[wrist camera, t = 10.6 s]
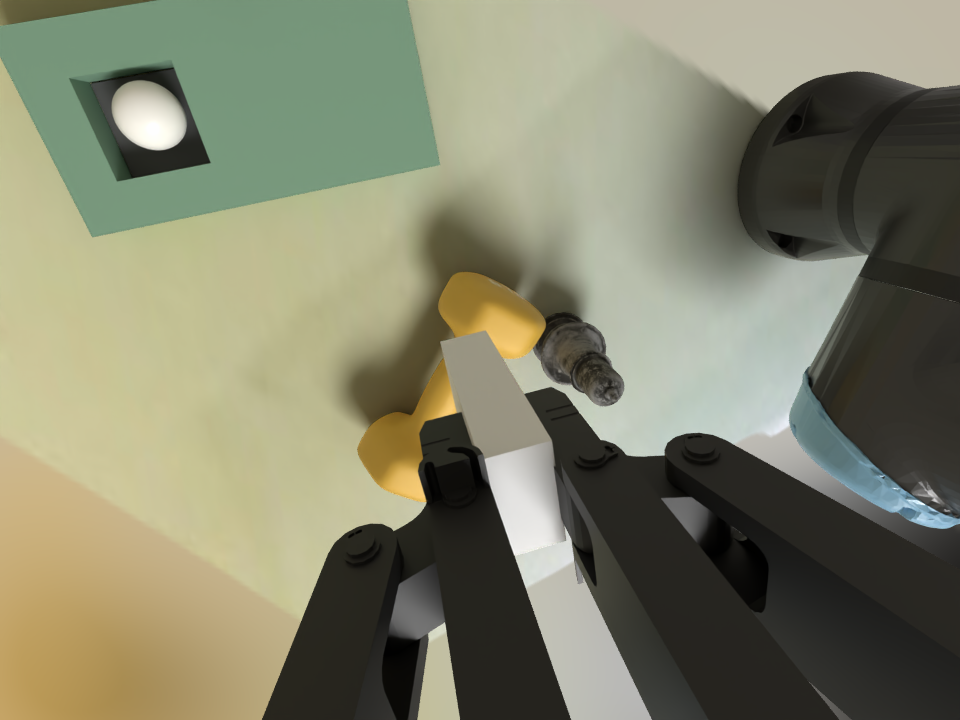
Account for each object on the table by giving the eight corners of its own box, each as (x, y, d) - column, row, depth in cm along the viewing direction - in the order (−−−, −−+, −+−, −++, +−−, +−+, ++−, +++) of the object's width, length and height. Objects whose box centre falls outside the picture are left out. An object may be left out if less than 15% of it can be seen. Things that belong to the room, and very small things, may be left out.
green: (397, -28, 33) (398, -40, 31) (436, 163, 38) (440, 164, 36) (14, 36, 31) (-15, 28, 28) (110, 231, 36) (92, 237, 34)
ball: (174, 78, 33) (162, 70, 30) (201, 143, 35) (192, 142, 31) (109, 90, 32) (88, 83, 29) (139, 156, 34) (124, 156, 30)
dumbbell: (451, 251, 41) (468, 275, 34) (539, 300, 44) (572, 332, 37) (351, 432, 46) (346, 488, 39) (436, 465, 49) (447, 522, 42)
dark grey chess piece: (586, 302, 45) (653, 352, 34) (592, 360, 48) (656, 423, 37) (524, 318, 45) (573, 374, 34) (534, 375, 47) (581, 444, 36)
